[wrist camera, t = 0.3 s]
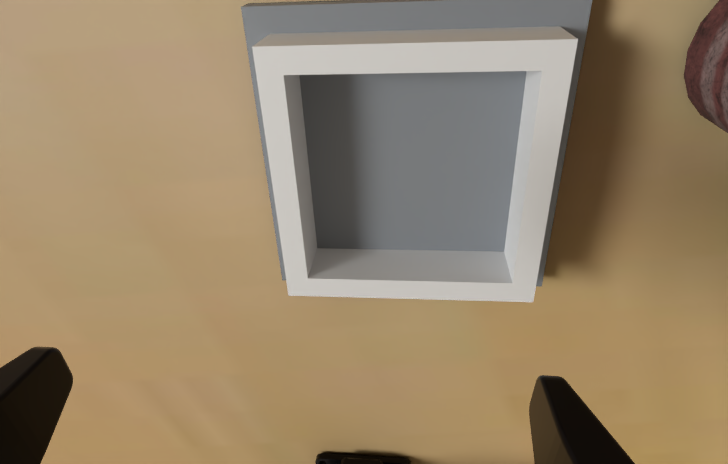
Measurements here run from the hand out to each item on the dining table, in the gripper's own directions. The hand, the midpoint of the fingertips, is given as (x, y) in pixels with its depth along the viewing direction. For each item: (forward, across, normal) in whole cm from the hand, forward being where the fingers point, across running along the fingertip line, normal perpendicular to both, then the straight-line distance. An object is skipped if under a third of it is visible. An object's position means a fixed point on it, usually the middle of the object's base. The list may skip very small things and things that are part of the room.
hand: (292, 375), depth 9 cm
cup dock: (+15, -2, +3) cm, 15 cm away
